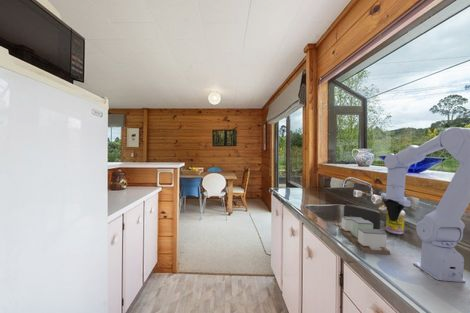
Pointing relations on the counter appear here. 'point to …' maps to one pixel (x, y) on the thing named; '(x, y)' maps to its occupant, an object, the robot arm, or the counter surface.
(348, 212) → the leaning round-cornered charcoal block
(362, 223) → the block
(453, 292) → the counter surface
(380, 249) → the rail board
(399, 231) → the supplement bottle
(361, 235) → the mounted modules
